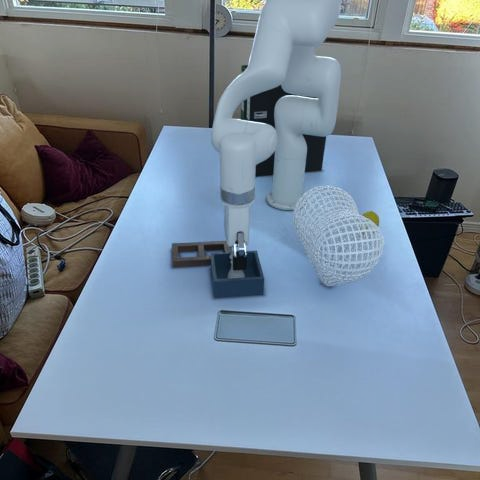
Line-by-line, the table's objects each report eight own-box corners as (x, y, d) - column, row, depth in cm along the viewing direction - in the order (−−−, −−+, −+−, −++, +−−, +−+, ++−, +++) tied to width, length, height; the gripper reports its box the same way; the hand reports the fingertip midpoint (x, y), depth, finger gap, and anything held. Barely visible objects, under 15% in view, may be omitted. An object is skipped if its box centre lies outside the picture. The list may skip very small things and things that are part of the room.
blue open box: (210, 269, 122) (210, 252, 118) (256, 266, 123) (256, 250, 120) (214, 298, 113) (213, 281, 110) (263, 295, 114) (264, 278, 111)
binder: (310, 155, 177) (321, 62, 156) (322, 172, 167) (336, 74, 145) (240, 160, 173) (241, 65, 152) (248, 178, 162) (251, 78, 141)
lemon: (375, 242, 133) (382, 217, 128) (356, 239, 134) (361, 214, 128) (375, 232, 137) (381, 207, 132) (356, 230, 138) (361, 205, 132)
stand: (172, 249, 128) (171, 243, 127) (228, 246, 130) (228, 240, 129) (172, 267, 122) (172, 261, 121) (232, 264, 124) (232, 258, 122)
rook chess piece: (247, 276, 119) (248, 250, 113) (241, 287, 115) (241, 260, 110) (230, 273, 120) (230, 246, 114) (224, 283, 117) (224, 256, 111)
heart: (280, 256, 127) (287, 178, 112) (333, 249, 130) (347, 173, 115) (317, 324, 107) (331, 240, 92) (379, 314, 110) (403, 232, 95)
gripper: (217, 175, 108) (218, 238, 120) (224, 214, 95) (225, 280, 107) (249, 174, 109) (247, 237, 120) (260, 212, 96) (257, 278, 108)
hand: (237, 257), depth 114 cm, fingers open, 9 cm apart
